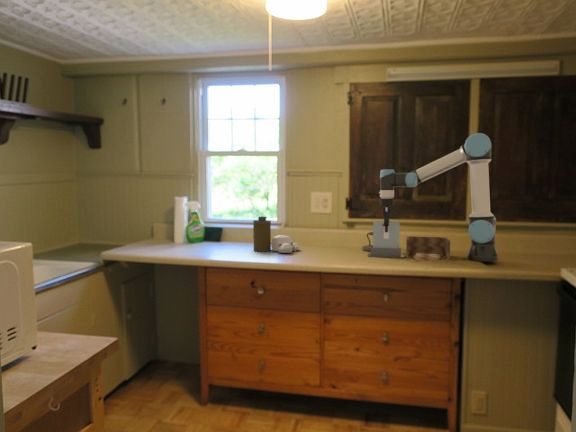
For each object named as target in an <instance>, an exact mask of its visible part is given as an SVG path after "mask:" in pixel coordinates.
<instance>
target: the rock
mask: <svg viewBox="0 0 576 432" xmlns="http://www.w3.org/2000/svg"><path fill="white" fill-rule="evenodd" d="M299 248H300V245H299V244H298V243H297V242H294V239H293V238H292V237H291V236H290V235H284V234H278V235H275V236H274V237H273V238H272V239H271V251H273V252H279V253H282V254H283V253H284V254H286V253H287V254H289V253H292V252H297V251H298V250H299Z"/></svg>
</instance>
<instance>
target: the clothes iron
mask: <svg viewBox="0 0 576 432" xmlns="http://www.w3.org/2000/svg"><path fill="white" fill-rule="evenodd" d="M369 236H373V231H369V232H367V234H366V238H367V241H368V242H369V243H368V244H367V245H363V246H362V247H361V248H362V249H361V250H363V251H366V252H371V247H373V244H372V243H371V240H370V238H369Z"/></svg>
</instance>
